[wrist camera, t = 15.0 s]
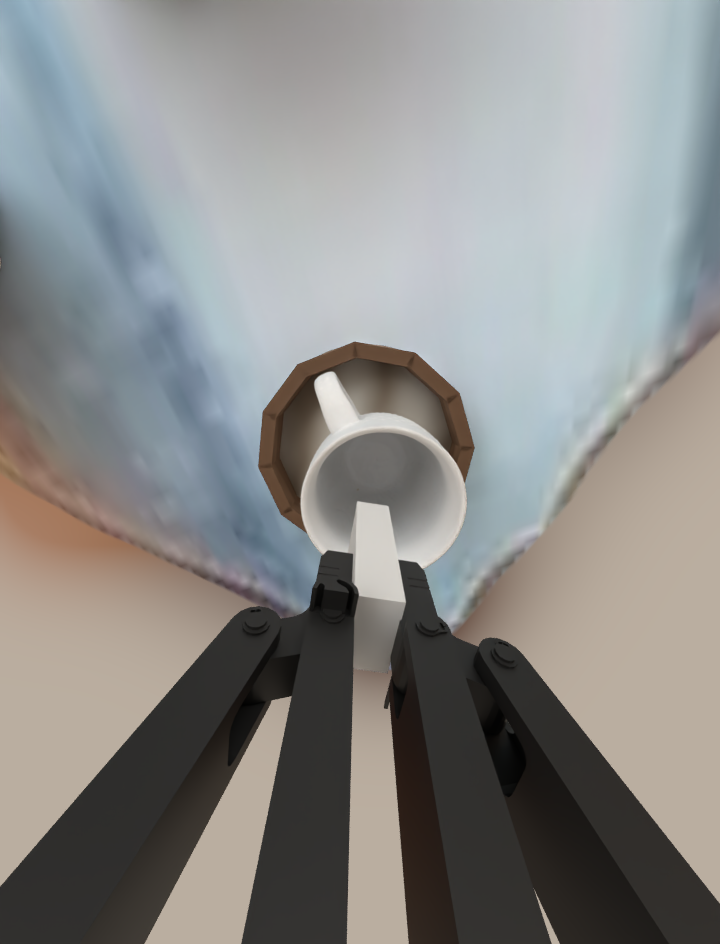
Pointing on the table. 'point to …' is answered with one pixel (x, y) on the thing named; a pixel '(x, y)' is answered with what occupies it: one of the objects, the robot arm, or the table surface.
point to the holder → (371, 390)
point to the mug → (380, 479)
